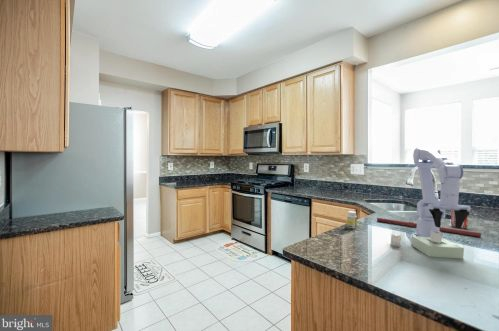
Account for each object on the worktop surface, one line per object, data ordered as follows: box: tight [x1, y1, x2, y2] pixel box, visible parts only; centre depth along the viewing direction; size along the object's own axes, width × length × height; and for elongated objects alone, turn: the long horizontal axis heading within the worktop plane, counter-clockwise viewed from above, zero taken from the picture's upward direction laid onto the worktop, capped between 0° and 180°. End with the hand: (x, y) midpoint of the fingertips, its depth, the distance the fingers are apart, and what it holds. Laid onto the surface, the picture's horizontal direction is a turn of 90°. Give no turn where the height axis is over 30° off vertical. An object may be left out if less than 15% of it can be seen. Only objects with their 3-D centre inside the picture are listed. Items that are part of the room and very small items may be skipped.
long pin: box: [430, 230, 443, 244], centre depth 97 cm, size 4×4×8 cm
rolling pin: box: [376, 217, 482, 238], centre depth 131 cm, size 45×3×3 cm, turn 54°
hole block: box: [411, 235, 465, 260], centre depth 97 cm, size 12×12×4 cm
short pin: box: [390, 233, 402, 248], centre depth 104 cm, size 4×4×4 cm
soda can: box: [450, 210, 469, 229], centre depth 134 cm, size 7×7×12 cm
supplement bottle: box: [346, 210, 358, 229], centre depth 130 cm, size 5×5×8 cm
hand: (447, 227), depth 98 cm, fingers open, 7 cm apart
